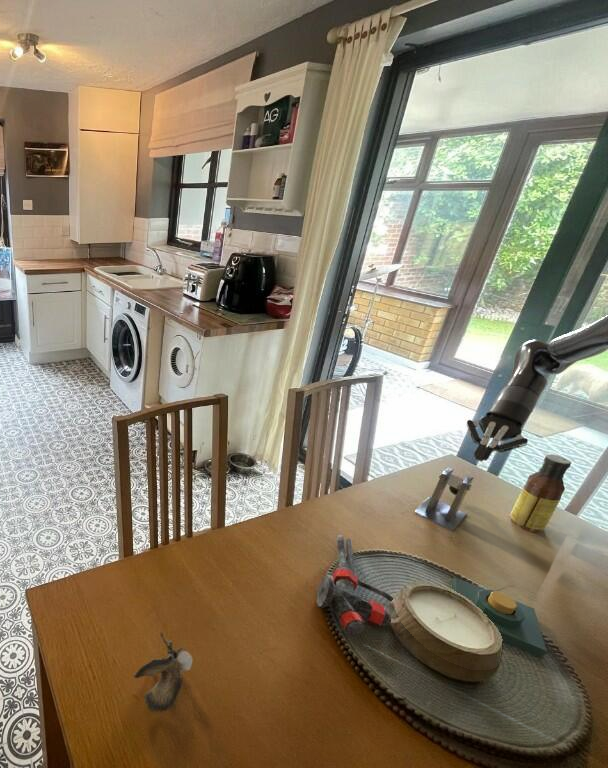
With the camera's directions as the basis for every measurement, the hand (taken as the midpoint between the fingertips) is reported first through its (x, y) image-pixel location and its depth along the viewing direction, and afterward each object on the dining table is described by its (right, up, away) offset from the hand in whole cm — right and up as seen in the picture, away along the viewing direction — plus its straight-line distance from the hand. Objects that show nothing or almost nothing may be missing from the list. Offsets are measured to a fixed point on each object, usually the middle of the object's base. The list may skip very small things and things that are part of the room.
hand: (478, 459), depth 108 cm
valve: (-48, -23, -24) cm, 58 cm away
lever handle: (-11, -7, -5) cm, 14 cm away
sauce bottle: (+4, -15, -7) cm, 17 cm away
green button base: (-25, -25, -30) cm, 46 cm away
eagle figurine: (-91, -30, -40) cm, 104 cm away
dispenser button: (-25, -22, -31) cm, 46 cm away
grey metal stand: (-14, -14, -4) cm, 20 cm away
